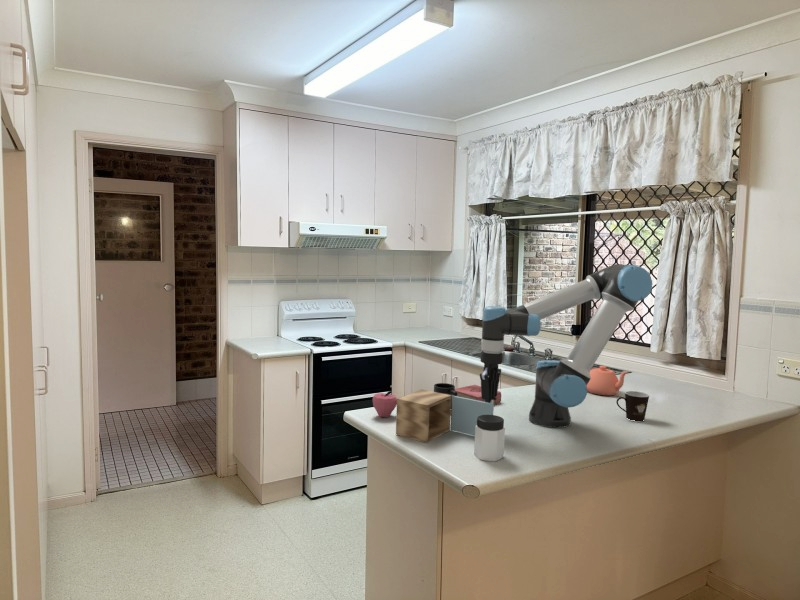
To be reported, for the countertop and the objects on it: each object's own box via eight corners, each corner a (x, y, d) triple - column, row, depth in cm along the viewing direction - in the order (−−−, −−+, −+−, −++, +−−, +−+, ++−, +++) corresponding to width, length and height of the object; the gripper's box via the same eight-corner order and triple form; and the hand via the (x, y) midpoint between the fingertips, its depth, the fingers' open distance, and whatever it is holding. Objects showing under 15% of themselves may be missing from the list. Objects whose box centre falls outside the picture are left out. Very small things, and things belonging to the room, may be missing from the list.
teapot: (634, 395, 252) (636, 368, 251) (618, 401, 242) (620, 373, 241) (588, 385, 268) (590, 360, 267) (572, 390, 258) (574, 364, 257)
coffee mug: (646, 417, 218) (648, 392, 217) (648, 424, 210) (650, 398, 209) (614, 413, 222) (616, 389, 221) (615, 420, 214) (617, 394, 213)
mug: (445, 416, 212) (446, 391, 211) (429, 407, 223) (430, 384, 222) (463, 413, 216) (464, 389, 215) (446, 405, 227) (447, 382, 226)
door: (451, 429, 195) (452, 394, 194) (492, 439, 187) (493, 403, 186) (449, 430, 195) (451, 395, 193) (490, 440, 186) (492, 403, 185)
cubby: (449, 430, 196) (451, 395, 195) (426, 442, 183) (427, 405, 181) (420, 423, 202) (422, 389, 201) (395, 434, 189) (397, 398, 188)
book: (479, 409, 223) (479, 397, 223) (451, 401, 234) (451, 389, 234) (501, 404, 233) (502, 392, 232) (474, 395, 244) (474, 384, 243)
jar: (484, 449, 178) (486, 412, 177) (507, 456, 173) (509, 418, 172) (469, 456, 172) (471, 418, 170) (492, 463, 166) (494, 424, 165)
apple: (385, 411, 215) (386, 386, 214) (401, 417, 209) (402, 390, 208) (367, 416, 209) (367, 390, 208) (382, 422, 202) (383, 394, 201)
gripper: (490, 347, 200) (486, 411, 202) (473, 352, 189) (469, 420, 192) (509, 350, 196) (505, 416, 198) (494, 355, 185) (490, 424, 187)
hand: (488, 418), depth 195 cm, fingers closed
